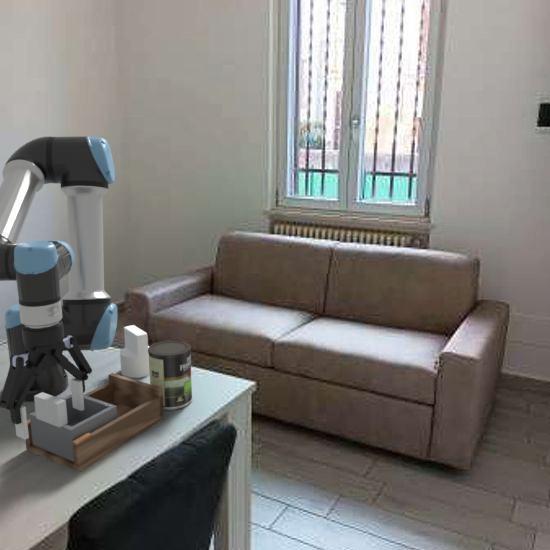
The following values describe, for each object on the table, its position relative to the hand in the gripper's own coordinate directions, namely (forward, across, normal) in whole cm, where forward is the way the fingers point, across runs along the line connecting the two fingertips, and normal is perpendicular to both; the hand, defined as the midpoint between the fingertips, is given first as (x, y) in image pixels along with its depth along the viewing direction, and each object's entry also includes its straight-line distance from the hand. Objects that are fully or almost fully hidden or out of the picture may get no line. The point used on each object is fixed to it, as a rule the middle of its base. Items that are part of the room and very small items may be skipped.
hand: (52, 422), depth 119 cm
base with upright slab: (+8, +42, +17) cm, 46 cm away
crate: (+7, +5, 0) cm, 9 cm away
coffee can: (+8, +33, -3) cm, 34 cm away
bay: (+8, +12, 0) cm, 14 cm away
